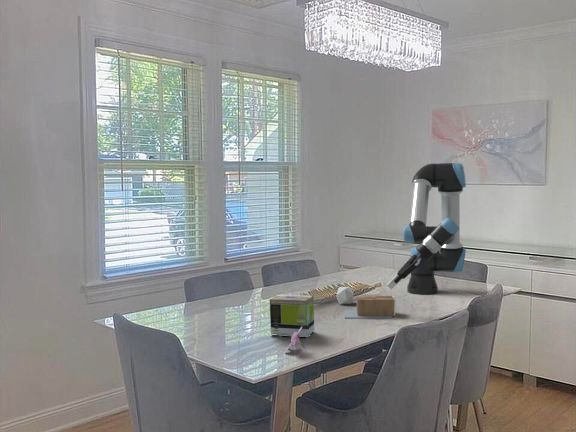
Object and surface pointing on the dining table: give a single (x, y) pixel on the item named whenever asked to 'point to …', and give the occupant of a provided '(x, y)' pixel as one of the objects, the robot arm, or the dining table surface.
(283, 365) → the dining table surface
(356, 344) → the dining table surface
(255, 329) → the dining table surface
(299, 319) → the tea box
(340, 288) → the white faceted ball
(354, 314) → the mat
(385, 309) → the brown wooden block
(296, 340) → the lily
